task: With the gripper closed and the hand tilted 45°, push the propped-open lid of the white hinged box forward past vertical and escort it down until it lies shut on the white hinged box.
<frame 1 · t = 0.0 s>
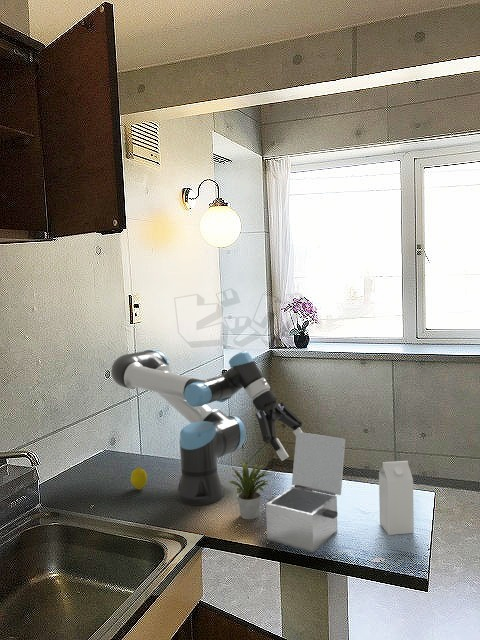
hand: (296, 452, 176), 15 cm above the worktop, tool tilted 35°, fingers open, 13 cm apart
lid: (319, 463, 160), point 17 cm above the worktop, hinge at 104.0°
milk carton: (396, 529, 155), on the worktop
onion: (303, 502, 175), on the worktop
white hinged box: (302, 535, 153), on the worktop
fruit: (139, 489, 191), on the worktop
house plant: (249, 518, 165), on the worktop
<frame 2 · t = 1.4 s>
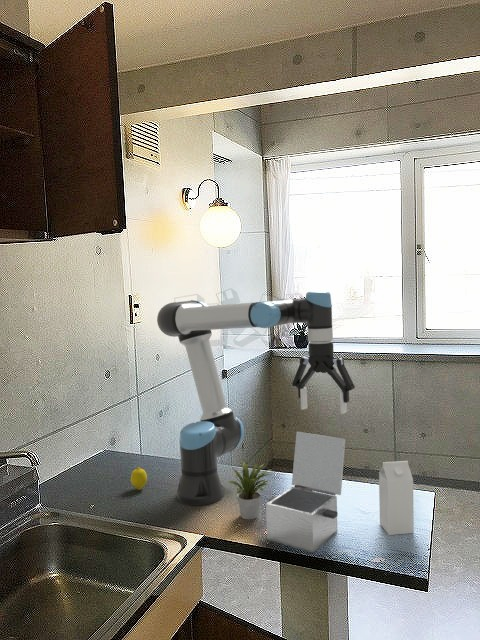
hand: (323, 410, 172), 29 cm above the worktop, tool pointing down, fingers open, 13 cm apart
nothing on the worktop moved.
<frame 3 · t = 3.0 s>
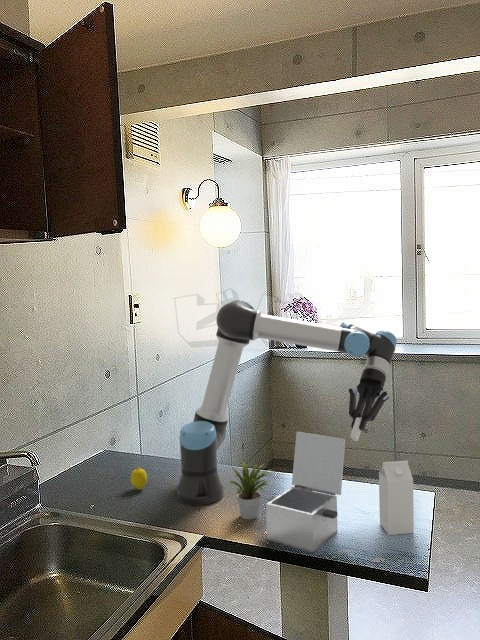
hand: (354, 438, 167), 22 cm above the worktop, tool tilted 45°, fingers closed
nothing on the worktop moved.
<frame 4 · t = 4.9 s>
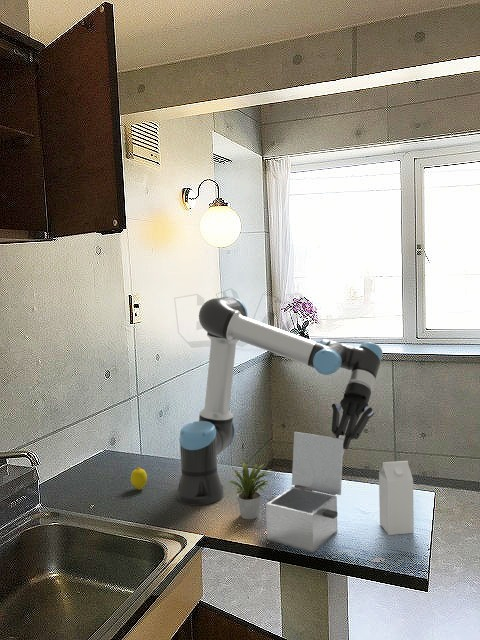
hand: (337, 458, 157), 19 cm above the worktop, tool tilted 45°, fingers closed
lid: (318, 462, 160), point 17 cm above the worktop, hinge at 98.8°, touching gripper
everything else where it was.
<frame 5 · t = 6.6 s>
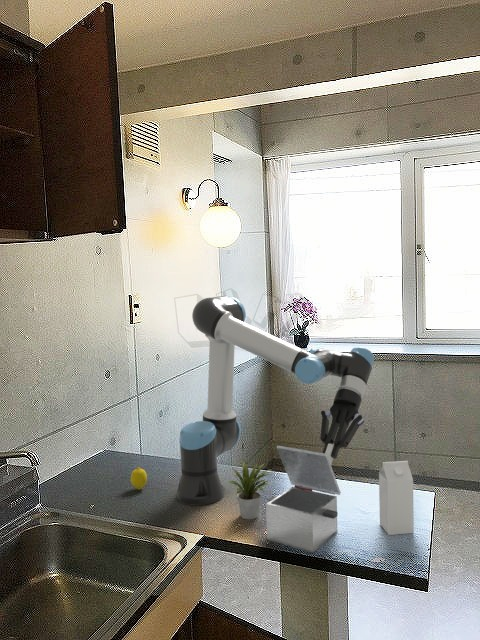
hand: (325, 467, 152), 19 cm above the worktop, tool tilted 45°, fingers closed
lid: (310, 468, 155), point 17 cm above the worktop, hinge at 59.7°, touching gripper
everything else where it was.
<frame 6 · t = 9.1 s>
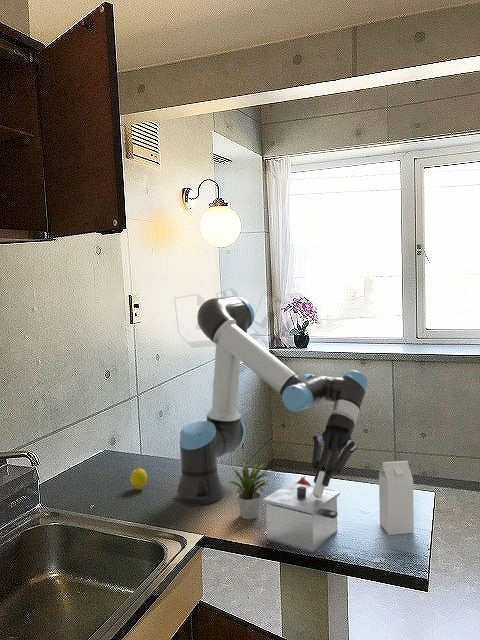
hand: (316, 496, 148), 12 cm above the worktop, tool tilted 45°, fingers closed
lid: (302, 493, 152), point 12 cm above the worktop, hinge at 1.1°, touching gripper
everything else where it was.
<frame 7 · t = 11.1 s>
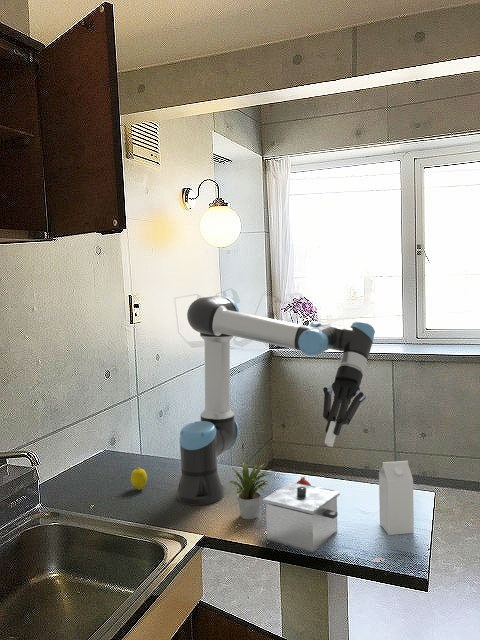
hand: (328, 444, 157), 23 cm above the worktop, tool tilted 35°, fingers closed
lid: (302, 493, 152), point 12 cm above the worktop, hinge at 1.0°
everything else where it was.
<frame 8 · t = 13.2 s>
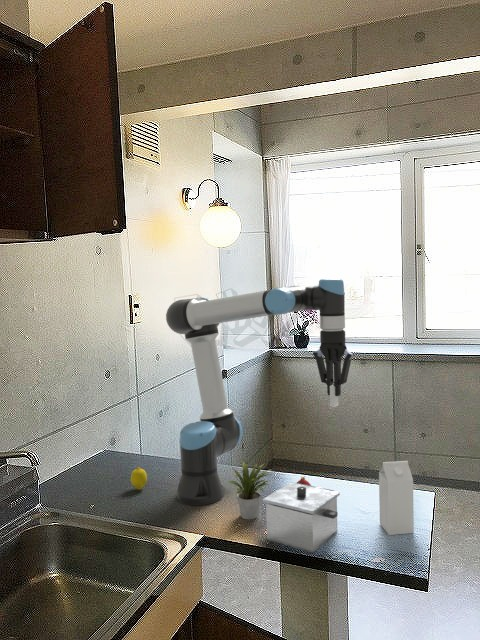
hand: (334, 406, 172), 30 cm above the worktop, tool pointing down, fingers closed
nothing on the worktop moved.
at the end: lid at +1° (first picture: +104°) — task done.
